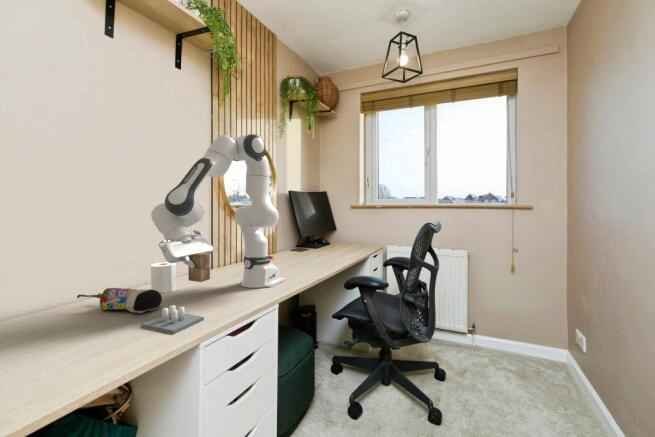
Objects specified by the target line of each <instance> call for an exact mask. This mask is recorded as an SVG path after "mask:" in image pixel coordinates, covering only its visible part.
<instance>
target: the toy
mask: <svg viewBox="0 0 655 437" xmlns="http://www.w3.org/2000/svg"><path fill="white" fill-rule="evenodd" d="M81 297H82V298H83V297H84V298H97V299H99V304H98V306H99V307H100V309H101V310H102V311H105V312H106V311H109V310H113V311H114V310H116V311H119V310H125V311H129V313H139V314H145V312H147V311H149V312H151V311H155V310H156V309H157V308H158V307H159V306H161V304H162V302H163V298H162V295H161V293H159V292H158V291H156V290H152V289H151V288H149V289H139V290H138V289H136V288H121V287H108V288H105V289H104V290H103V292H102V293H98V294H78V295H77V296H76V298H77V299H80V298H81ZM101 310H100V311H101Z"/></svg>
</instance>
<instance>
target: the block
mask: <svg viewBox="0 0 655 437" xmlns="http://www.w3.org/2000/svg"><path fill="white" fill-rule="evenodd" d="M210 255H211V254H210V253H195V254H191V256H188V257H189V260H190V261H192V262H195V264H196V265H197V266H196V267H195V268H193V269H191V268H190V266H188V265H187V266H188V268H187V270H188V281H190V282H198V283H203V282H206V281H209V280H211V261H210V257H211V256H210Z"/></svg>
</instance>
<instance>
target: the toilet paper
mask: <svg viewBox="0 0 655 437" xmlns="http://www.w3.org/2000/svg"><path fill="white" fill-rule="evenodd" d="M150 287H151V288H150V289H152V290H156V291H158V292H159V293H160V294H166V293H167V294H168V293H171V292H172V293H173V292H174V291H176V290H177V262H176V263H169V262H167V261H166V262H155V263H152V264H151V265H150Z"/></svg>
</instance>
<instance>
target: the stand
mask: <svg viewBox="0 0 655 437" xmlns="http://www.w3.org/2000/svg"><path fill="white" fill-rule="evenodd" d="M204 320H205V316H200V315H196V314H195V315H194V314H191V313H190V314H188V313H185V307H184V306H179V307H178V309H176V305H175V304H174V305H173V304H172V305H169V307H164V308H162V309H161V315H160V316H158V317H156V318H152V319H149V320H147V321H144V322H142V323H141V325H140V327H141V328H144V329H148V330H149V329H150V330H155V331H157V332H158V331H159V332H163V333H168V334H172V335H173V334H174V335H175V334H177V333H179V332H181V331H184V330H185V329H187V328H190V327H192V326H194V325H196V324H198V323H200V322H202V321H204Z"/></svg>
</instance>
